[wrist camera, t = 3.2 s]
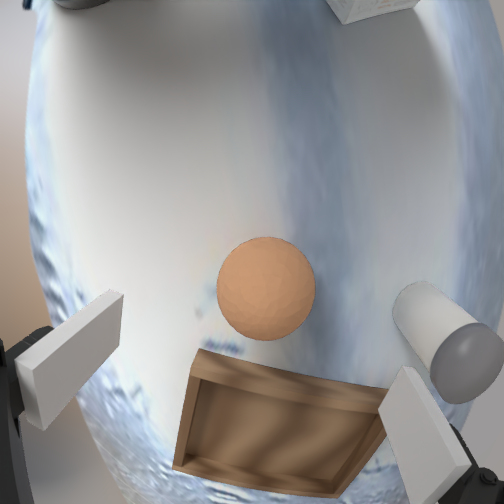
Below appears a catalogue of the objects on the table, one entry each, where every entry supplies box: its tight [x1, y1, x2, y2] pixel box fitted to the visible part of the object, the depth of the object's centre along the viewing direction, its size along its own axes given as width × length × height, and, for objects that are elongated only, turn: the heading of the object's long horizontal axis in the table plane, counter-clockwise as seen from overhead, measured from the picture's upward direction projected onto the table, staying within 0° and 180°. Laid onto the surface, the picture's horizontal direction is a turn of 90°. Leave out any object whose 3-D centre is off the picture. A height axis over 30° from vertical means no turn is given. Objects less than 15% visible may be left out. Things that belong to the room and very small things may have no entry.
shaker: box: [393, 281, 504, 404], centre depth 21 cm, size 5×5×11 cm
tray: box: [172, 348, 389, 498], centre depth 29 cm, size 20×16×3 cm
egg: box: [217, 237, 315, 341], centre depth 22 cm, size 7×7×9 cm
